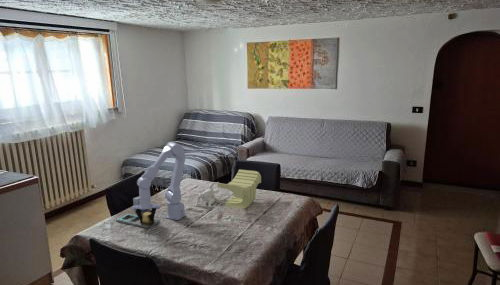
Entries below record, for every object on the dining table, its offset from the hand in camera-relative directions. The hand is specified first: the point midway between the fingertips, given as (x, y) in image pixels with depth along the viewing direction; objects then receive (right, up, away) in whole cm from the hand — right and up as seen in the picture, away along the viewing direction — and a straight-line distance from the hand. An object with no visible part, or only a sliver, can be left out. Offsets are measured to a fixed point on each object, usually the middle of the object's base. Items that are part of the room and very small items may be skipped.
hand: (147, 221), depth 189 cm
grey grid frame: (-6, -1, +3) cm, 7 cm away
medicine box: (-10, +2, +20) cm, 22 cm away
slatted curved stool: (+52, +5, +26) cm, 58 cm away
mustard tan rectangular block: (0, -2, 0) cm, 2 cm away
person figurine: (+31, +5, +29) cm, 43 cm away
